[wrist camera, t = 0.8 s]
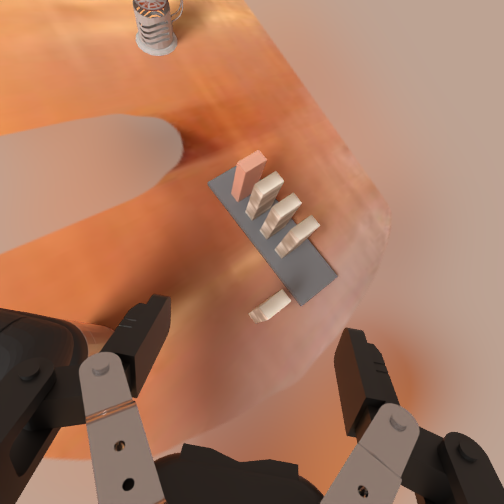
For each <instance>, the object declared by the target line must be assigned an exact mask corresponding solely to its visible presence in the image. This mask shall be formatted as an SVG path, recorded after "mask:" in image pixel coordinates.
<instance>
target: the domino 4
mask: <svg viewBox="0 0 504 504" xmlns="http://www.w3.org/2000/svg"><path fill="white" fill-rule="evenodd" d="M290 302H291V300H290V299H289V297H288V296H287V295H286V293H285V292H284V291H283V289H282V290H280V291H279V292H277V293H276V294H274V295H272V296H271V297H269V298H268V299H266V300H265V301H264V302H262V303H261V304H260V305H259V306H257V307H256V308H255V309H253V310H252V311H251V312H250V313H248V314H249V315H250V317H251V318H252V320H253V321H254V322H255V324H256V323H260V322H263V321H266V320H269V319H270V318H271V317H272V316H274V315H275V314H276V313H277V312H279V311H280V310H281V309H282V308H284V307H285V306H286V305H287V304H289V303H290Z"/></svg>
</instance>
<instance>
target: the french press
mask: <svg viewBox="0 0 504 504" xmlns="http://www.w3.org/2000/svg"><path fill="white" fill-rule="evenodd" d="M181 4H182V10H181V13H180V15H179V16H178V18H179V17H180V16H181V14H182V12H183V0H181V3H180V7H181ZM138 6H139V7H140V9H139V10H138V11H137V9H136V8H137V7H138ZM180 7H179V9H178V11H179V10H180ZM133 8H134V13H135V17H136V22H137V27H138V33H137V34H136V43H137V45H138V47H139V48H140V49H141V50H143V51H144V52H146V53H148V54H150V55H156V56H162V55H167V54H169V53H171V52H172V51H174V50H175V48H176V46H177V37H176V35H175V33H174V32H173V25H172V23H173V22H174V21H175V20H177V19H178V18H176V19H174V20H172V22H171V17H172V16H173V15H175V14H177V13H178V11H177V12H176V13H174V14H172V15H170V8H169V2H168V0H133ZM162 8H164V11H163V10H162ZM143 9H145V11H144V12H143V13H142V14H141V15H140V14H139V12H141V11H142V10H143ZM157 10H159V11H161V12H162V13H164V14H165V15H164V16H163V15H162V14H161V13H159V12H157ZM148 11H154V12H150V13H149V14H148V15H146V16H143V15H145V14H146V13H147V12H148ZM155 14H157V15H159V16H161V17H160V18H159V17H152V18H148V17H149V16H151V15H155ZM165 21H166V22H165ZM141 24H142V26H141Z"/></svg>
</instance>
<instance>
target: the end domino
mask: <svg viewBox="0 0 504 504" xmlns="http://www.w3.org/2000/svg"><path fill="white" fill-rule="evenodd" d="M266 161H267V159H266V158H265V157H264V156H263V154H262V153H261V152H260V151H259V150H257V151H256V152H254V153H252V154H251V155H249V156H247V157H245V158H244V159H242V160H240V161H239V162H237V166H236V172H235V177H234V182H233V187H232V192H231V194H232V196H233V197H234V198H235V199H236V201H237V202H239V201H241V200H243V199H244V198H246V197H247V196H249V195H250V194H251V193H252V191H253V188H254V185H255V184H256V183H257V182H259V181H260V178H261V175H262V172H263V169H264V167H265V164H266Z"/></svg>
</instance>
